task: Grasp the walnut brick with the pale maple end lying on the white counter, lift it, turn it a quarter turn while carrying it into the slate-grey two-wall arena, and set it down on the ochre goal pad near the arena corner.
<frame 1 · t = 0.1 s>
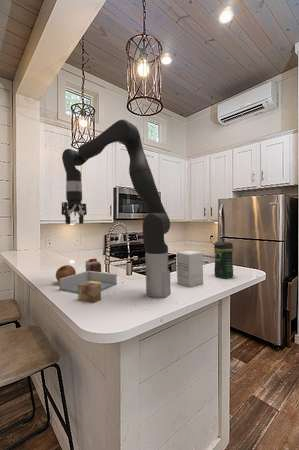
hand: (74, 223, 116), 29 cm above the table, fingers open, 8 cm apart
walnut brick: (89, 299, 90), on the table
coffee jar: (223, 276, 123), on the table
onion: (66, 283, 116), on the table
supplement box: (189, 283, 111), on the table
food item: (93, 276, 130), on the table
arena: (89, 287, 108), on the table
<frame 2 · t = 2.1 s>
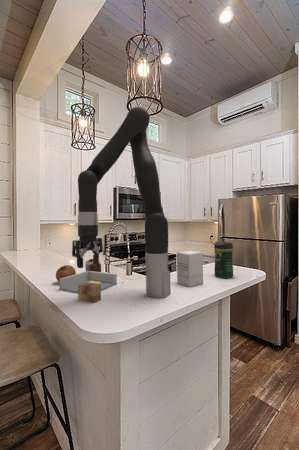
hand: (88, 265, 90), 13 cm above the table, fingers open, 8 cm apart
nothing on the table moved.
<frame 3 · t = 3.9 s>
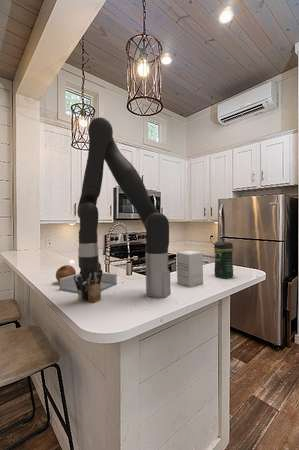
hand: (89, 298, 90), 0 cm above the table, fingers closed on walnut brick, 4 cm apart
walnut brick: (89, 299, 90), on the table, touching gripper
everything else where it was.
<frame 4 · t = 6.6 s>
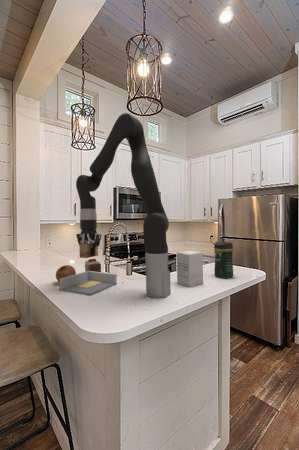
hand: (89, 255, 109), 14 cm above the table, fingers closed on walnut brick, 4 cm apart
walnut brick: (89, 256, 109), point 14 cm above the table, touching gripper
everything else where it was.
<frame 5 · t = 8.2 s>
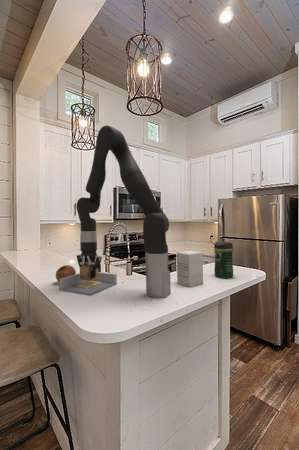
hand: (89, 277, 109), 4 cm above the table, fingers closed on walnut brick, 4 cm apart
walnut brick: (89, 278, 109), point 4 cm above the table, touching gripper
everything else where it was.
when the fingers open (3 cm above the table, at t = 9.3 s): walnut brick drops 1 cm, resting on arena.
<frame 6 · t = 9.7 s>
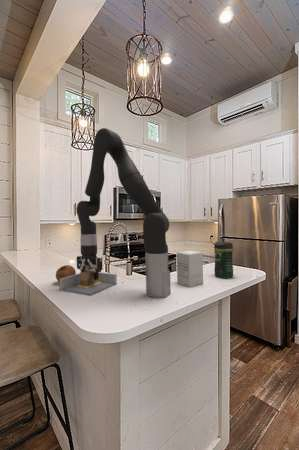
hand: (89, 279, 109), 3 cm above the table, fingers open, 7 cm apart
walnut brick: (89, 283, 109), point 1 cm above the table, touching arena
everything else where it was.
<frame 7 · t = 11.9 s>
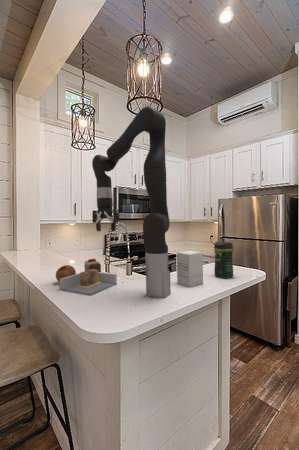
hand: (106, 231, 113), 25 cm above the table, fingers open, 8 cm apart
nothing on the table moved.
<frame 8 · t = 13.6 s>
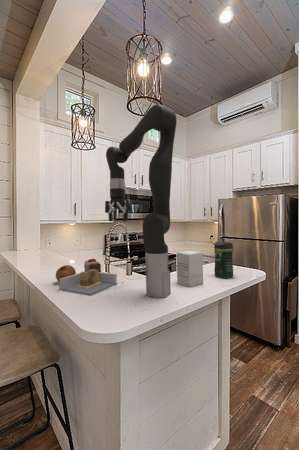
hand: (118, 221, 116), 30 cm above the table, fingers open, 8 cm apart
nothing on the table moved.
at the end: walnut brick 0.1 cm from the target spot on the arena, point 1.0 cm above the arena's base; walnut brick tilted 0°; the gripper is holding nothing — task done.
